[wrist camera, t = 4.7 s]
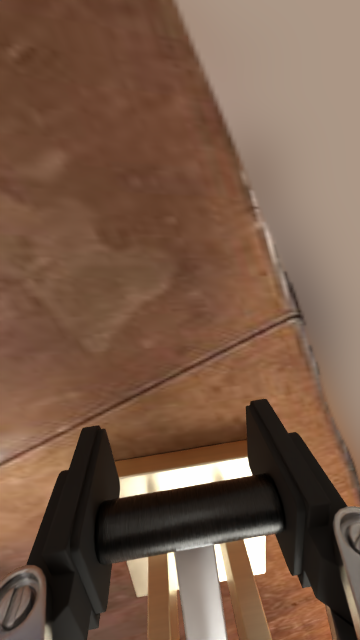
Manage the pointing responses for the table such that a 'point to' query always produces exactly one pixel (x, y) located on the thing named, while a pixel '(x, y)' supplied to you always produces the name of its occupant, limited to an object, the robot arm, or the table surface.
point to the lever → (191, 537)
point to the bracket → (232, 557)
